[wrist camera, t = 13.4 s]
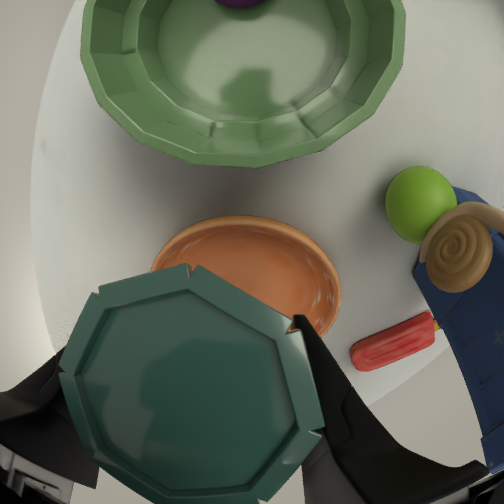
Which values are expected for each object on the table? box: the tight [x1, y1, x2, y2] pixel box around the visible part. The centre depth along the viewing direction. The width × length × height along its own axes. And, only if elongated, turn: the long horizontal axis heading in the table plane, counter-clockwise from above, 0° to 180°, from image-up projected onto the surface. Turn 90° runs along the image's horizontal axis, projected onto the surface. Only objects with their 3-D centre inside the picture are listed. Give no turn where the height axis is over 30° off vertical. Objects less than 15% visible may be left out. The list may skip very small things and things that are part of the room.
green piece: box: [58, 263, 325, 504], centre depth 11 cm, size 6×6×12 cm
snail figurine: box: [385, 166, 504, 293], centre depth 13 cm, size 5×6×12 cm
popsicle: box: [350, 312, 440, 372], centre depth 28 cm, size 6×1×15 cm
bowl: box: [80, 0, 406, 168], centre depth 10 cm, size 14×14×7 cm
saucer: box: [150, 215, 341, 338], centre depth 23 cm, size 16×16×3 cm
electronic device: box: [413, 187, 504, 474], centre depth 12 cm, size 10×5×20 cm, turn 176°
